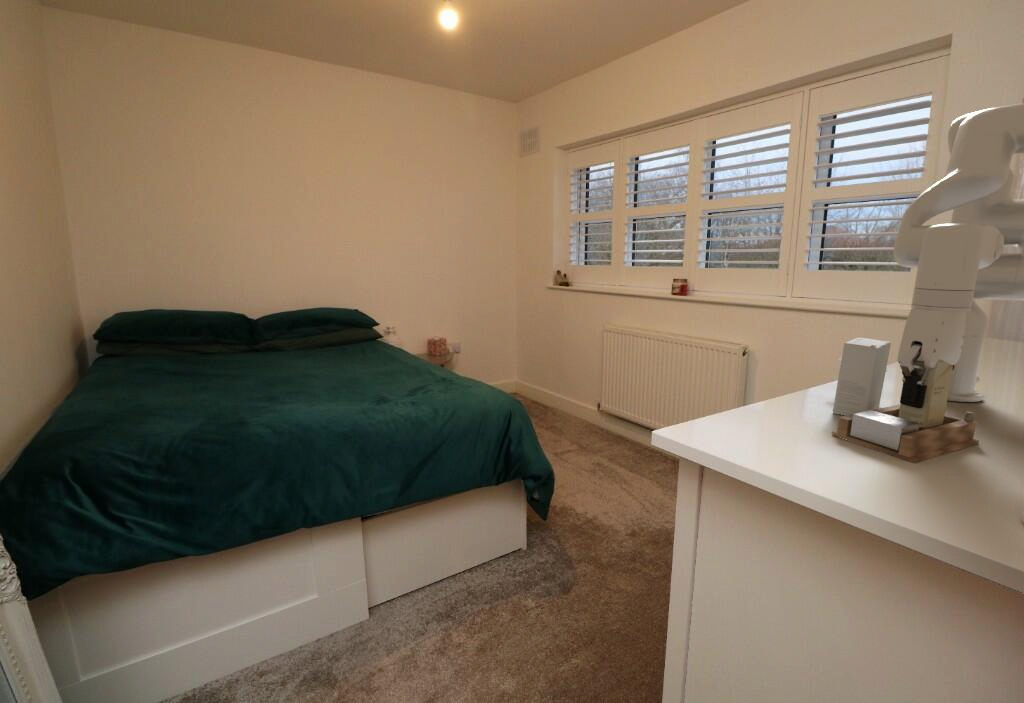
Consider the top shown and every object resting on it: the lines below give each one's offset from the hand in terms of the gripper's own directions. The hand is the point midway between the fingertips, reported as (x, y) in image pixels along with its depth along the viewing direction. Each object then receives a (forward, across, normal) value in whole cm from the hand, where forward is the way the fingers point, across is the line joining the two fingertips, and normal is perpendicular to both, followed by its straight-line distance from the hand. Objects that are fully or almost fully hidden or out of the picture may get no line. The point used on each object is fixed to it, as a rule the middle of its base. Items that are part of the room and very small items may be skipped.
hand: (922, 402), depth 84 cm
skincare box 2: (+4, 0, 0) cm, 4 cm away
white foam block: (+5, +10, 0) cm, 12 cm away
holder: (+6, +4, 0) cm, 7 cm away
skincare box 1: (+6, -3, -12) cm, 14 cm away
